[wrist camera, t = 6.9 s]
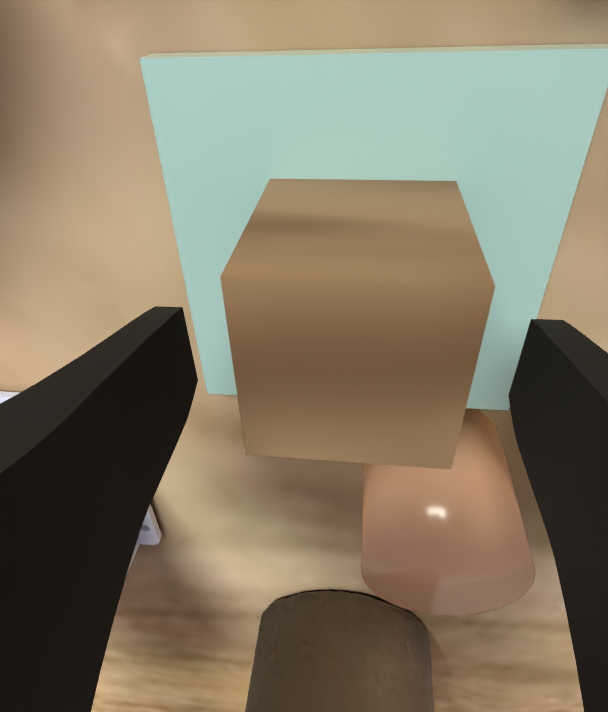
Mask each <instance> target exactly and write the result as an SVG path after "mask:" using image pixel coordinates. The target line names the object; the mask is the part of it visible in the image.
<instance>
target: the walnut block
mask: <svg viewBox="0 0 608 712" xmlns="http://www.w3.org/2000/svg"><path fill="white" fill-rule="evenodd" d="M220 280H221V287H222V294H223V300H224V307H225V314H226V321H227V328H228V335H229V342H230V348H231V355H232V362H233V369H234V376H235V383H236V390H237V396H238V403H239V410H240V417H241V424H242V431H243V437H244V444H245V451H246V455H259V456H273V457H287V458H300V459H314V460H328V461H341V462H355V463H368V464H382V465H396V466H409V467H423V468H437V469H450V470H451V468H452V464H453V460H454V456H455V452H456V448H457V443H458V439H459V435H460V431H461V427H462V423H463V418H464V414H465V410H466V406H467V402H468V398H469V394H470V389H471V385H472V381H473V377H474V373H475V369H476V365H477V360H478V356H479V352H480V348H481V344H482V340H483V335H484V331H485V327H486V323H487V319H488V315H489V311H490V306H491V302H492V298H493V294H494V290H495V284H494V282H493V279H492V276H491V273H490V271H489V268H488V265H487V263H486V260H485V257H484V255H483V252H482V249H481V246H480V244H479V241H478V238H477V236H476V233H475V230H474V227H473V225H472V222H471V219H470V217H469V214H468V211H467V209H466V206H465V203H464V200H463V198H462V195H461V192H460V190H459V187H458V184H457V182H456V181H423V180H345V179H270V180H269V182H268V184H267V185H266V187H265V189H264V191H263V193H262V195H261V197H260V199H259V201H258V203H257V205H256V207H255V209H254V211H253V213H252V215H251V217H250V219H249V221H248V223H247V225H246V227H245V229H244V231H243V233H242V235H241V237H240V239H239V241H238V243H237V245H236V247H235V248H234V250H233V252H232V254H231V256H230V258H229V260H228V262H227V264H226V266H225V268H224V270H223V272H222V274H221V276H220Z"/></svg>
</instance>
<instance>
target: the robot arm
mask: <svg viewBox="0 0 608 712" xmlns="http://www.w3.org/2000/svg"><path fill="white" fill-rule="evenodd" d="M197 382H198V379H197V374H196V369H195V364H194V360H193V355H192V350H191V346H190V341H189V336H188V331H187V327H186V322H185V317H184V312H183V308H182V307H154V308H152V309H150V310H148V311H147V312H145V313H143V314H142V315H140V316H139V317H137V318H136V319H134V320H133V321H131V322H130V323H128V324H127V325H126V326H124V327H123V328H121V329H120V330H118V331H117V332H115V333H114V334H112V335H111V336H110V337H108V338H107V339H105V340H104V341H102V342H101V343H99V344H98V345H96V346H95V347H93V348H92V349H90V350H89V351H87V352H86V353H85V354H83V355H82V356H80V357H78V358H77V359H75V360H74V361H72V362H70V363H69V364H67V365H66V366H64V367H62V368H61V369H59V370H58V371H56V372H54V373H53V374H51V375H50V376H48V377H46V378H45V379H43V380H42V381H40V382H38V383H37V384H35V385H33V386H31V387H30V388H28V389H26V390H24V391H22V392H4V391H0V712H91V709H92V704H93V700H94V696H95V692H96V687H97V683H98V679H99V674H100V670H101V666H102V662H103V658H104V655H105V651H106V647H107V643H108V639H109V636H110V632H111V628H112V624H113V620H114V616H115V613H116V609H117V606H118V602H119V599H120V595H121V592H122V589H123V585H124V582H125V579H126V576H127V574H128V572H129V569H130V567H131V564H132V562H133V559H134V557H135V555H136V552H137V550H138V547H139V545H140V544H144V545H156V544H158V543H159V542H160V540H161V537H162V534H161V531H160V529H159V526H158V523H157V520H156V518H155V515H154V512H153V509H152V507H151V504H150V503H151V501H152V499H153V497H154V494H155V492H156V490H157V488H158V485H159V483H160V481H161V478H162V476H163V474H164V472H165V469H166V467H167V465H168V463H169V460H170V458H171V456H172V453H173V451H174V449H175V447H176V444H177V442H178V440H179V437H180V435H181V433H182V430H183V428H184V426H185V423H186V421H187V418H188V415H189V411H190V408H191V404H192V401H193V397H194V393H195V389H196V385H197ZM508 397H509V403H510V409H511V415H512V421H513V426H514V431H515V436H516V440H517V443H518V447H519V450H520V453H521V456H522V459H523V462H524V465H525V468H526V471H527V474H528V477H529V480H530V483H531V486H532V489H533V492H534V495H535V498H536V501H537V504H538V507H539V510H540V513H541V516H542V518H543V521H544V524H545V527H546V530H547V533H548V536H549V540H550V543H551V547H552V550H553V554H554V557H555V562H556V566H557V571H558V575H559V580H560V585H561V589H562V594H563V598H564V603H565V608H566V613H567V618H568V623H569V628H570V633H571V638H572V644H573V649H574V654H575V659H576V665H577V671H578V677H579V683H580V689H581V694H582V700H583V706H584V712H608V353H607V352H605V351H604V350H603V349H602V348H600V347H599V346H598V345H596V344H595V343H594V342H593V341H591V340H590V339H589V338H587V337H586V336H585V335H583V334H582V333H581V332H579V331H578V330H577V329H575V328H574V327H573V326H571V325H570V324H568V323H567V322H565V321H564V320H544V319H531V321H530V324H529V327H528V331H527V334H526V338H525V341H524V344H523V348H522V351H521V354H520V358H519V361H518V365H517V368H516V371H515V375H514V378H513V382H512V385H511V388H510V392H509V395H508Z"/></svg>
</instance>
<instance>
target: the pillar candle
mask: <svg viewBox="0 0 608 712" xmlns="http://www.w3.org/2000/svg"><path fill="white" fill-rule="evenodd" d="M430 660H431V658H430V648H429V639H428V635H427V632H426V629H425V627H424V626H423V624H422V623H421V622H419V620H418V619H417V618H416V617H415V616H413V615H412V614H411V613H409V612H407V611H405V610H403V609H401V608H399V607H396V606H393V605H390V604H388V603H385V602H383V601H380V600H377V599H375V598H372V597H369V596H366V595H361V594H356V593H349V592H343V591H339V592H335V591H330V590H327V591H316V592H307V593H300V594H298V595H295V596H291V597H288V598H287V597H286V598H282V599H278V600H277V601H276V600H275V601H274V602H273V603H272V604H271V605H270V606H269V607H268V609H267V610H265V611H264V612H263V614H262V617H261V622H260V626H259V634H258V639H257V645H256V650H255V658H254V665H253V669H252V675H251V680H250V686H249V692H248V699H247V705H246V710H245V712H434V703H433V690H432V681H431V661H430Z"/></svg>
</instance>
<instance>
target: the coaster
mask: <svg viewBox="0 0 608 712" xmlns="http://www.w3.org/2000/svg"><path fill="white" fill-rule="evenodd" d="M140 63H141V68H142V73H143V78H144V83H145V88H146V93H147V98H148V103H149V108H150V113H151V117H152V122H153V127H154V132H155V137H156V142H157V147H158V152H159V157H160V162H161V167H162V172H163V177H164V182H165V187H166V191H167V196H168V201H169V206H170V211H171V216H172V221H173V226H174V231H175V236H176V241H177V246H178V251H179V256H180V260H181V265H182V270H183V275H184V280H185V285H186V290H187V295H188V300H189V305H190V310H191V315H192V320H193V325H194V330H195V334H196V339H197V344H198V349H199V354H200V359H201V364H202V369H203V374H204V379H205V384H206V389H207V394H223V395H237V390H236V383H235V376H234V369H233V362H232V355H231V348H230V342H229V335H228V328H227V321H226V314H225V307H224V300H223V294H222V287H221V280H220V276H221V274H222V272H223V270H224V268H225V266H226V264H227V262H228V260H229V258H230V256H231V254H232V252H233V250H234V248H235V247H236V245H237V243H238V241H239V239H240V237H241V235H242V233H243V231H244V229H245V227H246V225H247V223H248V221H249V219H250V217H251V215H252V213H253V211H254V209H255V207H256V205H257V203H258V201H259V199H260V197H261V195H262V193H263V191H264V189H265V187H266V185H267V184H268V182H269V180H270V179H345V180H423V181H456V182H457V184H458V187H459V190H460V192H461V195H462V198H463V200H464V203H465V206H466V209H467V211H468V214H469V217H470V219H471V222H472V225H473V227H474V230H475V233H476V236H477V238H478V241H479V244H480V246H481V249H482V252H483V255H484V257H485V260H486V263H487V265H488V268H489V271H490V273H491V276H492V279H493V282H494V284H495V290H494V294H493V298H492V302H491V306H490V311H489V315H488V319H487V323H486V327H485V331H484V335H483V340H482V344H481V348H480V352H479V356H478V360H477V365H476V369H475V373H474V377H473V381H472V385H471V389H470V394H469V398H468V402H467V406H466V408H472V409H490V410H509V407H510V403H509V397H508V395H509V392H510V388H511V385H512V382H513V378H514V375H515V371H516V368H517V365H518V361H519V358H520V354H521V351H522V348H523V344H524V341H525V338H526V334H527V331H528V327H529V324H530V321H531V319H537V316H538V312H539V309H540V306H541V302H542V299H543V296H544V293H545V289H546V286H547V283H548V280H549V276H550V273H551V270H552V266H553V263H554V260H555V257H556V253H557V250H558V247H559V244H560V240H561V237H562V234H563V231H564V227H565V224H566V221H567V217H568V214H569V211H570V208H571V204H572V201H573V198H574V195H575V191H576V188H577V185H578V182H579V178H580V175H581V172H582V168H583V165H584V162H585V159H586V155H587V152H588V149H589V146H590V142H591V139H592V136H593V133H594V129H595V126H596V123H597V119H598V116H599V113H600V110H601V106H602V103H603V100H604V97H605V93H606V90H607V87H608V44H605V43H604V44H558V45H513V46H467V47H422V48H376V49H331V50H286V51H240V52H195V53H152V54H150V55H147V56H144V57H142V58H140Z"/></svg>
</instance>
